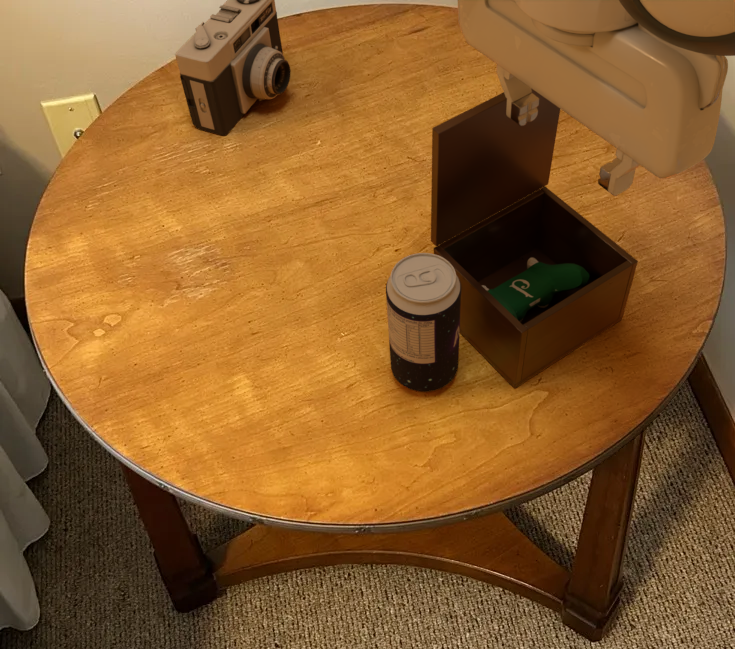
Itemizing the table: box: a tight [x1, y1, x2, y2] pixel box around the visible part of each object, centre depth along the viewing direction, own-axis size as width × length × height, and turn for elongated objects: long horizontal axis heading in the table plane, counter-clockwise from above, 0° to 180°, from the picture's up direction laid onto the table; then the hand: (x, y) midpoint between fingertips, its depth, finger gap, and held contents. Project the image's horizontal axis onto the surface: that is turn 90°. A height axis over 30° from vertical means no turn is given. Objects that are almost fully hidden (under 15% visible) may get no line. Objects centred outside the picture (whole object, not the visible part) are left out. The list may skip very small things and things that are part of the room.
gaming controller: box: [482, 258, 590, 322], centre depth 75 cm, size 9×4×6 cm
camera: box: [174, 0, 291, 137], centre depth 94 cm, size 14×8×10 cm, turn 154°
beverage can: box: [385, 252, 461, 393], centre depth 69 cm, size 6×6×12 cm
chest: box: [433, 186, 639, 389], centre depth 74 cm, size 11×12×8 cm
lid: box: [430, 88, 561, 247], centre depth 69 cm, size 12×12×1 cm
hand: (565, 151), depth 61 cm, fingers open, 8 cm apart
